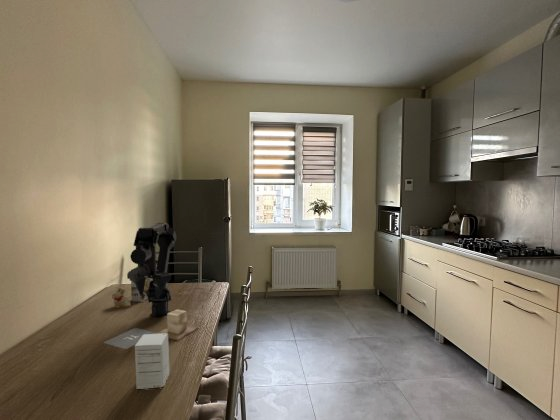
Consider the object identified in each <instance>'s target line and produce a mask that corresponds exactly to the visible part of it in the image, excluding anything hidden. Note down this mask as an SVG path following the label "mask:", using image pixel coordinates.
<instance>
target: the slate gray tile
mask: <svg viewBox="0 0 560 420" xmlns="http://www.w3.org/2000/svg"><path fill="white" fill-rule="evenodd" d="M156 333H157V332H153V331H149V330H145V329H141V328H137V327H134V328H132V329H130V330H128V331H125V332H123V333H121V334H118V335H116V336H115V337H112V338H109V339H107V340H105V341H104V342H102V343H103V344H107V345H111V346H114V347H117V348H119V349H123V350H127V349H129V348H131V347H133V346H135V345H136V344H137V342H138V341H139V340H140V338H141V337H142V336H143V335H144V334H156Z"/></svg>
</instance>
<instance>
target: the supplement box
mask: <svg viewBox="0 0 560 420" xmlns="http://www.w3.org/2000/svg"><path fill="white" fill-rule="evenodd" d="M169 353H170V352H169V338H168V333H161V334H144V335H143V336H142V337H141V338H140V340H139V341H138V342H137V344H135V345H134V356H135V357H134V358H135V359H134V360H135V361H134V362H135V381H136V383H135V385H136V386H135V387H136V390H137V389H143V388H154V387H163V386H164V387H165V385H166V383H167V381H166V380H168V378H169V375H170V373H171V372H170V356H169V355H170V354H169Z"/></svg>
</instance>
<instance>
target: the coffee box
mask: <svg viewBox="0 0 560 420" xmlns="http://www.w3.org/2000/svg"><path fill="white" fill-rule="evenodd" d="M133 269H134V268H133ZM133 269H131V270H133ZM152 280H153V279H151V278H146V280H145V286H144V292H143V295H142V296H140V294H139V291H138V289H137V287H136V285H135V283H134V282H132V281H130V282H131V283H130V287H131V288H130V289H131V290H130V291H131V293H130V294H131V301H132V302H140V303H142V302H145V301H147V300H148V296H147V291H148V289H149V285H150V281H152Z"/></svg>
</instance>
